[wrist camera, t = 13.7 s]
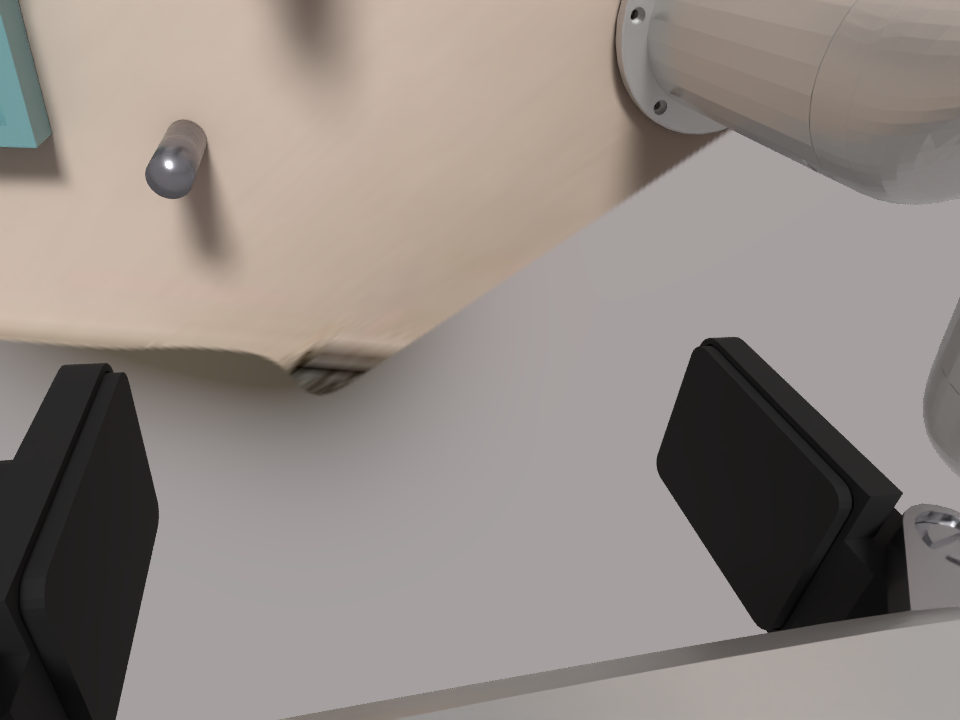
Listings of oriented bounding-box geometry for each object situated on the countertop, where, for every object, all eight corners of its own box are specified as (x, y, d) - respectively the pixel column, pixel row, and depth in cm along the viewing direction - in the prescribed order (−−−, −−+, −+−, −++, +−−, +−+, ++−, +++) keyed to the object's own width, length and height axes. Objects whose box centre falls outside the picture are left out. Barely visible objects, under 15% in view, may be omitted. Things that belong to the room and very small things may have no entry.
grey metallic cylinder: (204, 120, 35) (189, 157, 30) (209, 157, 36) (195, 199, 31) (163, 118, 34) (141, 155, 29) (170, 156, 36) (149, 198, 30)
